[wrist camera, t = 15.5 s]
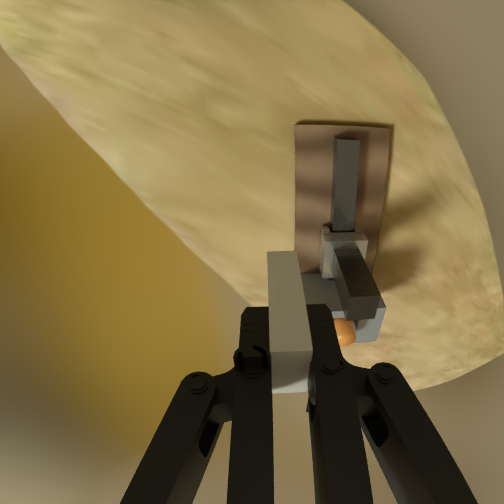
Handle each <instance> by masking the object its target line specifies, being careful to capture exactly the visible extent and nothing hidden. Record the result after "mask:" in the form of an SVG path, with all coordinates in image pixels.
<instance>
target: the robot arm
mask: <svg viewBox="0 0 504 504" xmlns="http://www.w3.org/2000/svg"><path fill="white" fill-rule="evenodd" d="M267 266H268V301H269V307H247V308H246V309H245V310H244V312H243V313H242V315H241V326H240V339H239V348H238V349H237V350H236V351H235V353H234V356H233V359H234V365H235V366H234V368H232V369H231V370H230V371H228V372H226V373H223V374H220V375H216V376H211V375H210V374H208V373H205V372H194V373H191V374H189V375H187V376H186V377H185V378H184V379H183V380H182V381H181V383H180V386H179V387H178V389H177V391H176V393H175V395H174V397H173V399H172V401H171V403H170V405H169V407H168V409H167V411H166V413H165V415H164V417H163V419H162V421H161V423H160V425H159V427H158V429H157V431H156V433H155V435H154V437H153V439H152V441H151V443H150V445H149V446H148V449H147V450H146V452H145V455H144V457H143V458H142V460H141V462H140V464H139V466H138V468H137V470H136V472H135V474H134V476H133V478H132V480H131V482H130V484H129V486H128V488H127V490H126V492H125V494H124V496H123V498H122V500H121V502H120V504H192V503H193V500H194V498H195V495H196V493H197V490H198V488H199V485H200V483H201V480H202V478H203V476H204V473H205V470H206V468H207V465H208V463H209V460H210V458H211V455H212V453H213V450H214V448H215V445H216V442H217V440H218V437H219V435H220V432H221V429H222V427H223V424H224V422H228V421H231V420H232V428H231V443H230V459H229V475H228V490H227V504H274V467H273V466H274V464H273V411H272V410H273V408H272V393H291V392H307V388H308V394H309V397H308V404H307V409H306V412H308V413H309V423H310V434H311V447H312V460H313V472H314V487H315V503H316V504H373V498H372V490H371V484H370V477H369V471H368V464H367V458H366V452H365V447H364V441H363V435H362V430H363V432H364V434H365V436H366V438H367V440H368V442H369V444H370V446H371V448H372V450H373V452H374V454H375V457H376V459H377V461H378V463H379V465H380V467H381V469H382V471H383V473H384V475H385V478H386V480H387V482H388V484H389V486H390V488H391V490H392V492H393V494H394V497H395V499H396V501H397V503H398V504H478V503H477V501H476V499H475V497H474V495H473V493H472V492H471V490H470V488H469V486H468V484H467V482H466V480H465V478H464V477H463V475H462V473H461V471H460V470H459V468H458V466H457V464H456V462H455V461H454V459H453V457H452V456H451V454H450V452H449V450H448V449H447V447H446V445H445V443H444V442H443V440H442V438H441V436H440V435H439V433H438V431H437V430H436V428H435V426H434V425H433V423H432V421H431V420H430V418H429V417H428V415H427V413H426V412H425V410H424V409H423V407H422V405H421V404H420V402H419V400H418V399H417V397H416V396H415V394H414V392H413V391H412V389H411V388H410V386H409V385H408V383H407V381H406V380H405V378H404V377H403V375H402V374H401V372H400V371H399V369H398V368H397V367H396V366H394V365H392V364H390V363H385V362H382V363H377V364H375V365H373V366H372V367H371V369H367V368H362V367H357V366H353V365H352V364H350V363H348V362H347V361H346V360H345V359H344V358H343V356H342V353H341V349H340V345H339V341H338V336H337V332H336V328H335V324H334V321H333V316H332V312H331V310H330V309H329V308H328V306H327V305H326V304H306V303H305V297H304V291H303V285H302V279H301V274H300V268H299V262H298V257H297V251H274V252H267ZM361 428H362V430H361Z"/></svg>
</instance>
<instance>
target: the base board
mask: <svg viewBox="0 0 504 504" xmlns="http://www.w3.org/2000/svg"><path fill="white" fill-rule="evenodd" d="M334 137H356V138H357V139H359V140H360V152H359V168H358V182H357V194H356V205H355V215H354V225H353V226H357V225H358V227H359V228H360V230H361V232H364V234H365V236H366V238H367V239H368V244H367V251H366V257H365V262H366V264H367V266H368V269H369V271H370V273H371V275H372V271H373V266H374V260H375V255H376V249H377V243H378V237H379V231H380V224H381V218H382V210H383V203H384V195H385V186H386V177H387V167H388V156H389V144H390V128H386V127H372V126H356V125H332V124H295V251H297V257H298V262H299V268H300V274H316V273H321V272H320V262H319V258H320V244H321V228H322V226H328V228H330V213H331V196H332V176H333V148H334Z"/></svg>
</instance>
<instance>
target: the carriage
mask: <svg viewBox="0 0 504 504" xmlns="http://www.w3.org/2000/svg"><path fill="white" fill-rule="evenodd" d="M367 244H368V239H367V238H366V236H365V234H364V232H361V230H360V228H359V227H358V225H357V226H353V232H338V233H330V230H329V228H328V226H322V228H321V244H320V258H319V262H320V272H321V276H322V278H333V279H334V282H335V285H336V288H337V292H338V295H339V299H340V302H341V305H342V309H343V312H344V316H345V319H346V321H352V320H365V319H375V316H376V312H377V308H378V304H379V300H380V296H381V295H380V292H379V290H378V288H377V286H376V284H375V281H374V279H373V277H372V275H371V273H370V271H369V269H368V266H367V264H366V262H365V257H366V251H367Z"/></svg>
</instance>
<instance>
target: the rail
mask: <svg viewBox="0 0 504 504" xmlns="http://www.w3.org/2000/svg"><path fill="white" fill-rule="evenodd" d="M359 152H360V140H359V139H357V138H356V137H334V148H333V176H332V196H331V213H330V228H329V230H330V233H338V232H353V225H354V215H355V205H356V194H357V182H358V168H359ZM327 280H328V281H332V280H334V279H333V278H327Z"/></svg>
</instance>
